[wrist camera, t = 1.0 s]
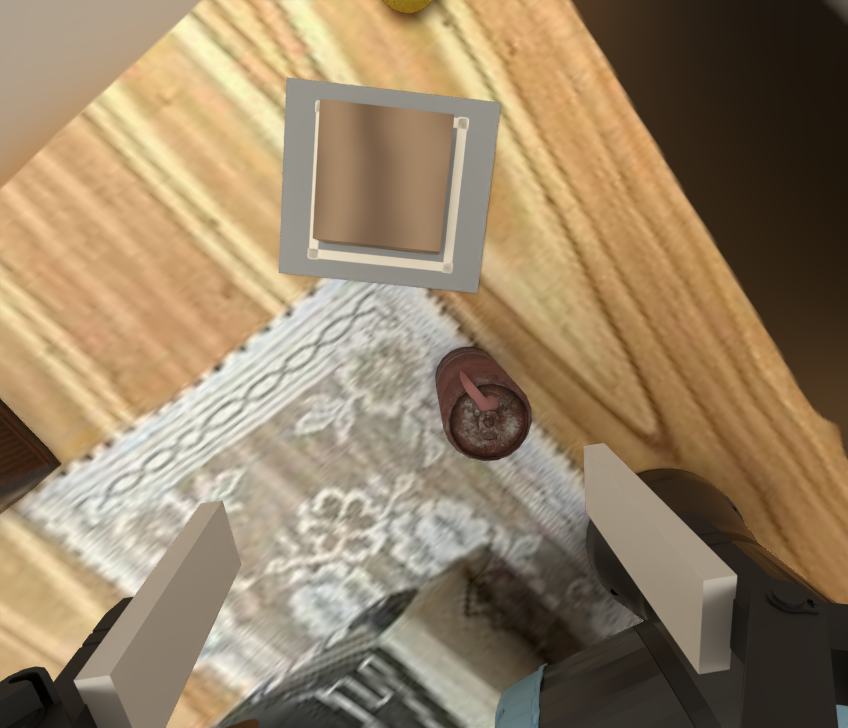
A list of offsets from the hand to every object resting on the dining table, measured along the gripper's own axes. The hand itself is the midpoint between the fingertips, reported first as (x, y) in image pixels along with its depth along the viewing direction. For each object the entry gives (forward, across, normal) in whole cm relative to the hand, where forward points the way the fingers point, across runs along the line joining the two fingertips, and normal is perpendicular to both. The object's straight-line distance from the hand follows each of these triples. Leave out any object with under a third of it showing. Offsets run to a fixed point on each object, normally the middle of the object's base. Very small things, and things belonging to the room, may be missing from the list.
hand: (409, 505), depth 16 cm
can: (+27, -6, +4) cm, 28 cm away
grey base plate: (+29, -1, -13) cm, 32 cm away
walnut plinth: (+29, -1, -13) cm, 32 cm away
